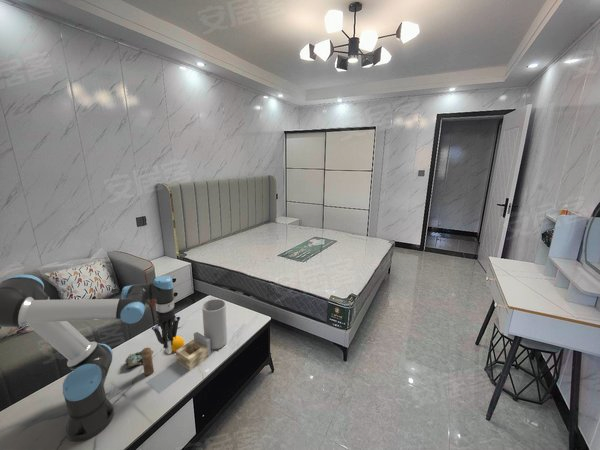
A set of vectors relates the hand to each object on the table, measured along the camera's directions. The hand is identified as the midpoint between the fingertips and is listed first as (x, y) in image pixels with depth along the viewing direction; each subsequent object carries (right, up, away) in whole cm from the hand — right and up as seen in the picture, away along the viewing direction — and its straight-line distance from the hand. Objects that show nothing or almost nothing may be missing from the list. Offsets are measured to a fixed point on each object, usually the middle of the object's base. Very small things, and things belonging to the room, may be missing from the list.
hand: (168, 352), depth 126 cm
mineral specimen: (-20, -11, +11) cm, 26 cm away
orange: (-6, -9, +21) cm, 24 cm away
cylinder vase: (+14, -8, +27) cm, 32 cm away
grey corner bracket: (+3, -12, +7) cm, 15 cm away
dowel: (-12, -13, +4) cm, 18 cm away
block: (+6, -10, +13) cm, 18 cm away
